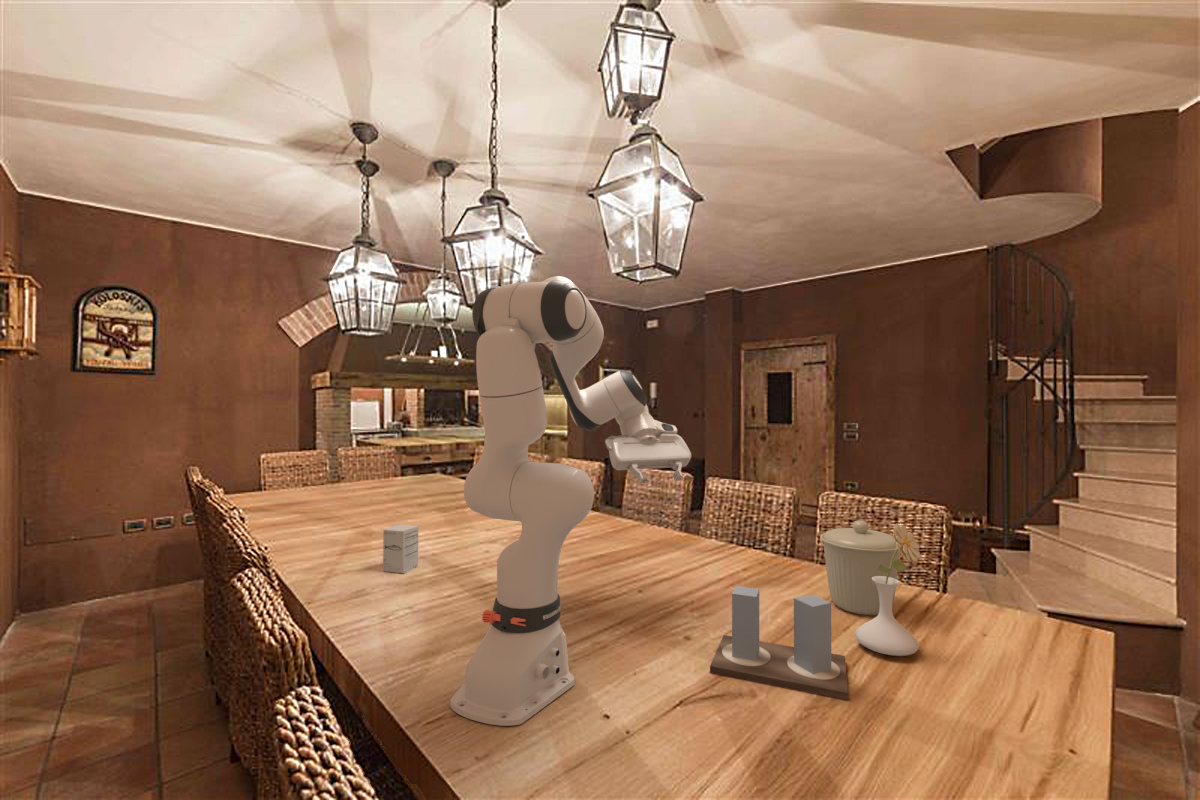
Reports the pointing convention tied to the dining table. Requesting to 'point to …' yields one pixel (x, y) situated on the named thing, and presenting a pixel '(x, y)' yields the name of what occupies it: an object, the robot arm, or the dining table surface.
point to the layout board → (781, 669)
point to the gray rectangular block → (812, 633)
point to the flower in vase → (890, 605)
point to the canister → (857, 566)
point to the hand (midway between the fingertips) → (661, 480)
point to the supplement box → (400, 548)
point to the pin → (745, 623)
